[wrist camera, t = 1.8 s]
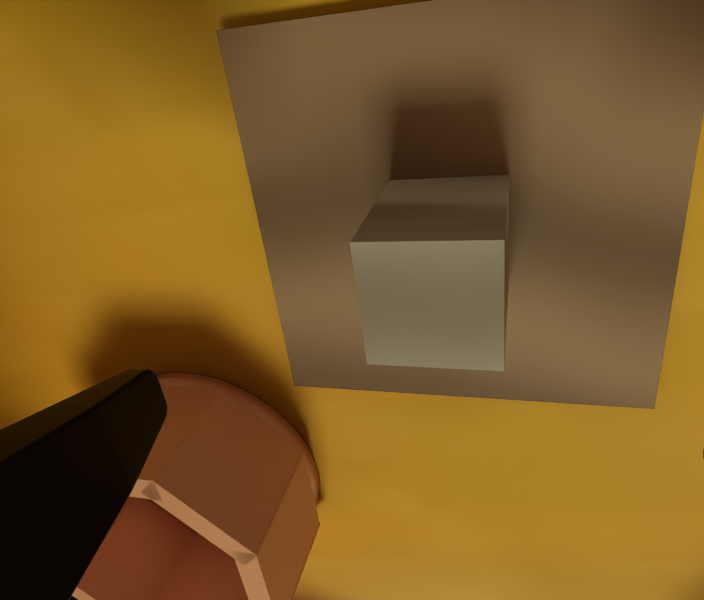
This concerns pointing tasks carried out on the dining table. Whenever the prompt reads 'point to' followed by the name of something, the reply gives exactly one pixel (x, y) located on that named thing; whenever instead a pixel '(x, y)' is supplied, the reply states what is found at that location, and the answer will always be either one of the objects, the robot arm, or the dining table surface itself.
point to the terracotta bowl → (212, 504)
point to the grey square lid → (474, 191)
